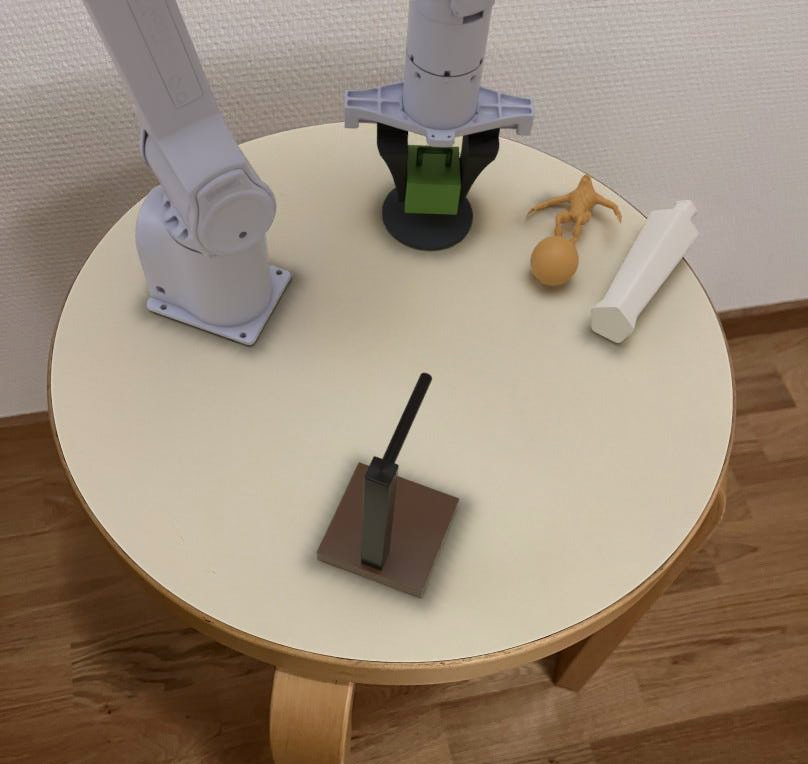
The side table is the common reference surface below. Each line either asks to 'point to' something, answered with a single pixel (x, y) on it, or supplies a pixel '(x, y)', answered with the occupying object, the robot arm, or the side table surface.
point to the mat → (426, 225)
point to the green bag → (432, 180)
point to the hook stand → (390, 517)
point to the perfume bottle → (645, 269)
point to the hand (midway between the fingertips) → (429, 194)
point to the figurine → (558, 254)
